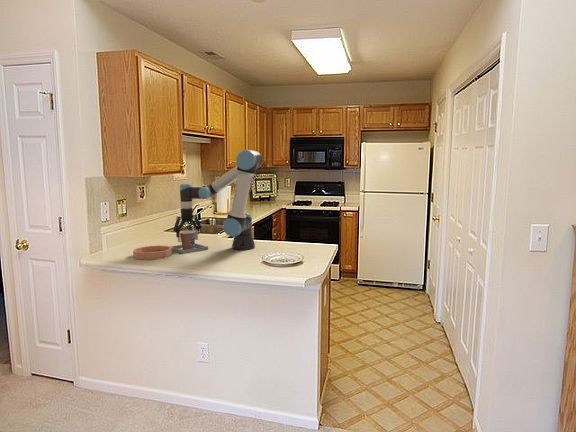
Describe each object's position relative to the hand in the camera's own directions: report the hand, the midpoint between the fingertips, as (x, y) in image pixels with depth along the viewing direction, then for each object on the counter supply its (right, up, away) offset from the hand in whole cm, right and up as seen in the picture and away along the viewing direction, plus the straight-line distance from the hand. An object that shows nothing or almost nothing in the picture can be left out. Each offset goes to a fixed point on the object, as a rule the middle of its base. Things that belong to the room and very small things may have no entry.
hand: (188, 240), depth 258 cm
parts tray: (0, -6, +1) cm, 6 cm away
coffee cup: (0, -6, +1) cm, 6 cm away
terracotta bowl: (-18, -8, -15) cm, 25 cm away
